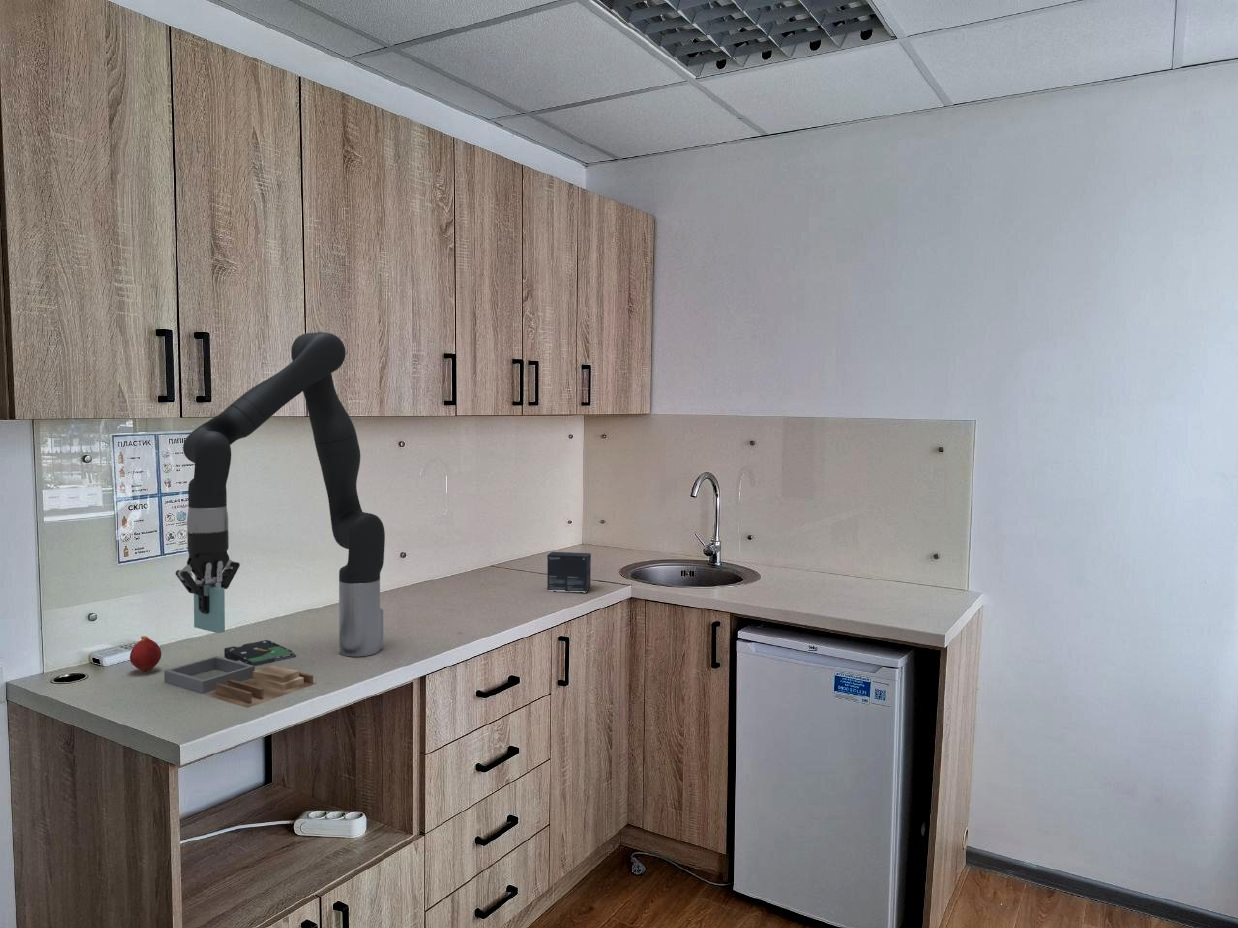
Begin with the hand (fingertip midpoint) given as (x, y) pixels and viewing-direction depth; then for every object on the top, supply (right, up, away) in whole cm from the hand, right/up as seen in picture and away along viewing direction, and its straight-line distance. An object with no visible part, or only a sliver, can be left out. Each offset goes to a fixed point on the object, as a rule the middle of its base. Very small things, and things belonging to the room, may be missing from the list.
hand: (209, 612), depth 169 cm
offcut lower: (+14, -15, 0) cm, 20 cm away
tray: (0, -15, +1) cm, 15 cm away
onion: (-18, -15, +9) cm, 25 cm away
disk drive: (+2, -15, +19) cm, 24 cm away
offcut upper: (+14, -13, 0) cm, 19 cm away
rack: (+12, -16, -4) cm, 21 cm away
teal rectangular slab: (0, -4, 0) cm, 4 cm away
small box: (+68, -10, +94) cm, 117 cm away
